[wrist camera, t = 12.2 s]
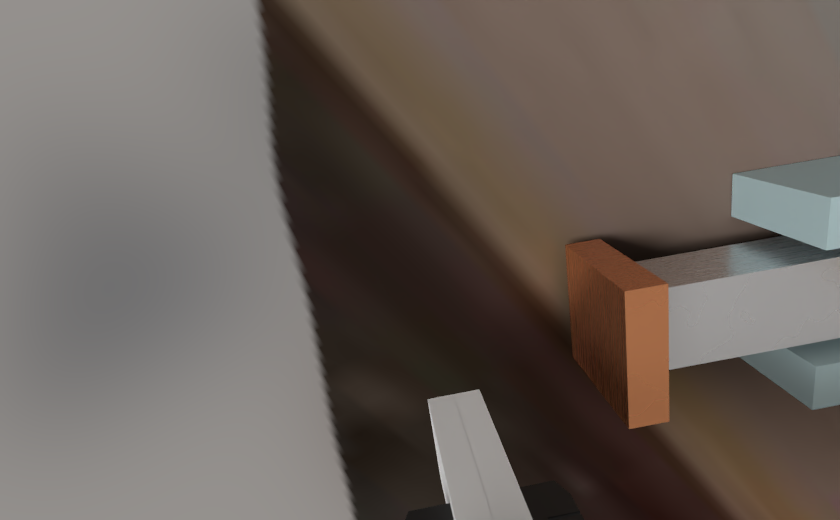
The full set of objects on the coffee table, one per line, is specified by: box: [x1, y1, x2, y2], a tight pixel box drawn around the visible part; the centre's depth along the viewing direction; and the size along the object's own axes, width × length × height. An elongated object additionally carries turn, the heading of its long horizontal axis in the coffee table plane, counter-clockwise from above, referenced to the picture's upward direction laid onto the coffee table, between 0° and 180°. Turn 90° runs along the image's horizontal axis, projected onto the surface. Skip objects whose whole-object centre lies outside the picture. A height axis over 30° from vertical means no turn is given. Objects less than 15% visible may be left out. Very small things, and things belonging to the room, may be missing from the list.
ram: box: [565, 236, 840, 429], centre depth 21 cm, size 5×13×5 cm, turn 98°
